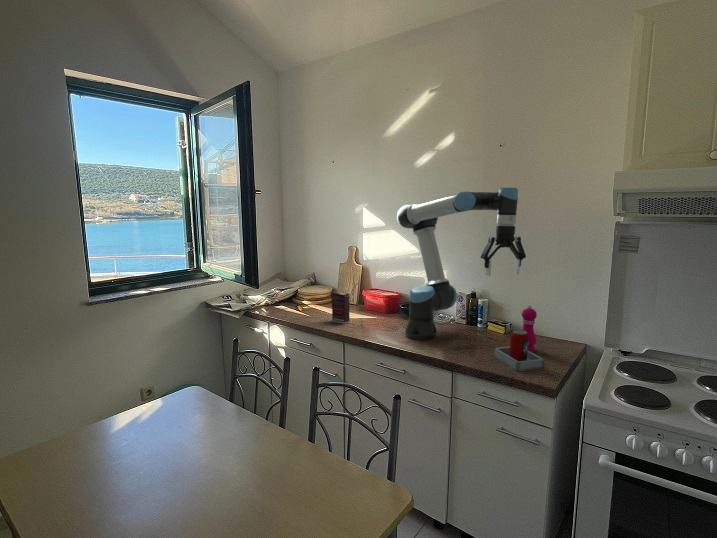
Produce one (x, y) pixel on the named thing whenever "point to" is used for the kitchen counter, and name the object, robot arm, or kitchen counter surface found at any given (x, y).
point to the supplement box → (340, 307)
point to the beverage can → (519, 345)
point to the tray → (529, 364)
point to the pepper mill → (529, 326)
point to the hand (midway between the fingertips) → (502, 275)
